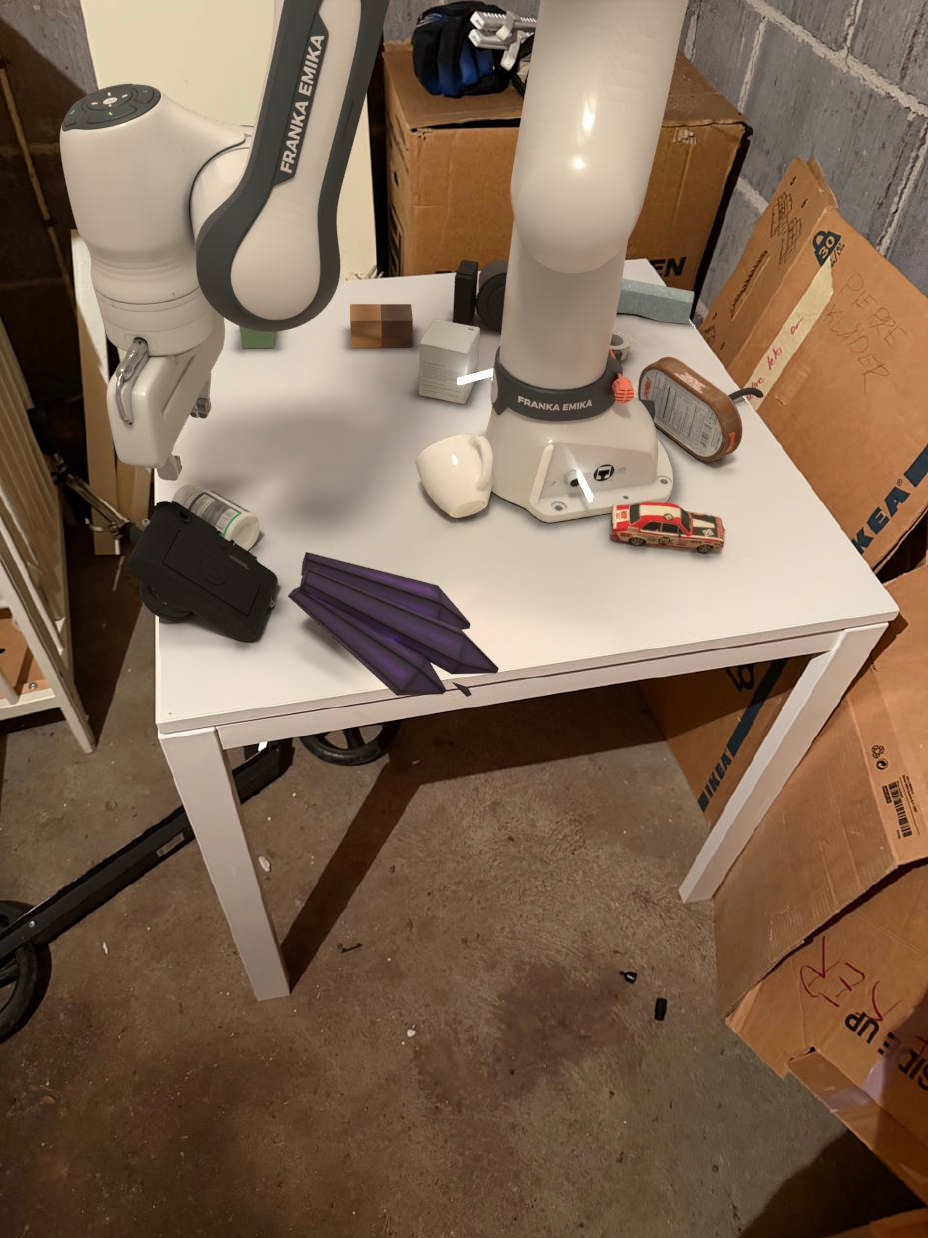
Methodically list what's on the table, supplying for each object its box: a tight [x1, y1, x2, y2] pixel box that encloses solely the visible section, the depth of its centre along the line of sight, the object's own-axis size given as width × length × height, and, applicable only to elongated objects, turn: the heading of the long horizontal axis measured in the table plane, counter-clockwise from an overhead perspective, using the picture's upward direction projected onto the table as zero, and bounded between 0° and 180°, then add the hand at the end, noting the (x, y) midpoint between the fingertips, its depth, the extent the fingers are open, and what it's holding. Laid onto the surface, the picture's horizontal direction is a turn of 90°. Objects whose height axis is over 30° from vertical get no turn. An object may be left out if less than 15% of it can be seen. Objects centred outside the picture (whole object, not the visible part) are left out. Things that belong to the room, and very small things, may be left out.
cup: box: [414, 433, 493, 519], centre depth 93 cm, size 8×10×7 cm
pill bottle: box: [170, 483, 261, 552], centre depth 90 cm, size 5×5×8 cm
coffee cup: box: [475, 259, 509, 333], centre depth 120 cm, size 8×8×10 cm
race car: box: [610, 502, 726, 555], centre depth 93 cm, size 5×12×5 cm, turn 79°
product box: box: [418, 318, 481, 405], centre depth 108 cm, size 6×6×7 cm
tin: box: [637, 356, 743, 462], centre depth 103 cm, size 15×3×8 cm, turn 34°
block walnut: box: [380, 303, 414, 349], centre depth 116 cm, size 4×4×4 cm
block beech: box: [349, 303, 382, 349], centre depth 116 cm, size 4×4×4 cm
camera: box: [126, 500, 279, 642], centre depth 82 cm, size 14×7×8 cm
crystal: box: [287, 551, 500, 698], centre depth 80 cm, size 7×12×20 cm
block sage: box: [238, 326, 276, 349], centre depth 114 cm, size 4×4×4 cm
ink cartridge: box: [452, 259, 479, 326], centre depth 118 cm, size 5×2×8 cm, turn 168°
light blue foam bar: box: [616, 277, 696, 325], centre depth 126 cm, size 23×7×3 cm
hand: (186, 443), depth 84 cm, fingers open, 8 cm apart
